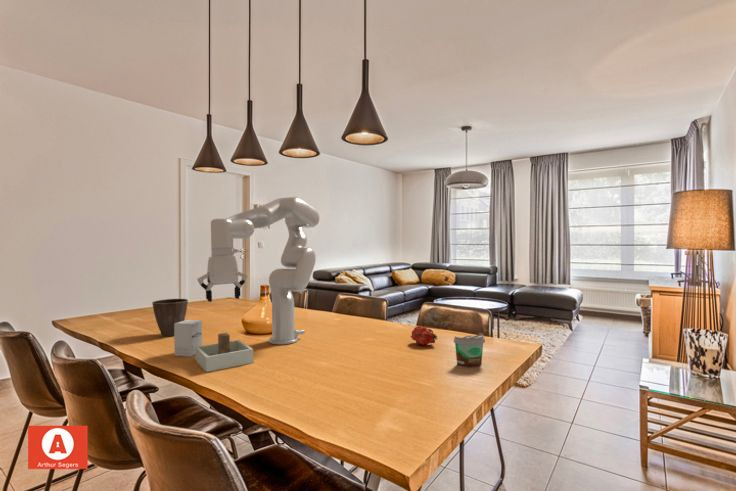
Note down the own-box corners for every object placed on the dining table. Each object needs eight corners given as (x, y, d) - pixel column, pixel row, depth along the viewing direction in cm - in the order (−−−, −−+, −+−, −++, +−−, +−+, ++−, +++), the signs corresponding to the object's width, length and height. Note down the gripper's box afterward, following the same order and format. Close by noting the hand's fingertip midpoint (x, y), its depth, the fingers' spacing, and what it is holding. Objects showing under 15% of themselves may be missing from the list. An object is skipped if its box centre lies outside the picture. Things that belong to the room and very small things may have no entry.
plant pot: (149, 334, 181) (148, 300, 181) (182, 329, 191) (182, 297, 191) (157, 340, 170) (157, 304, 170) (193, 334, 180) (192, 300, 180)
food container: (465, 370, 128) (465, 340, 128) (453, 365, 133) (453, 336, 133) (493, 364, 134) (492, 336, 134) (480, 359, 139) (480, 332, 139)
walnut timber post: (227, 357, 142) (226, 332, 142) (229, 359, 138) (229, 334, 138) (218, 358, 140) (218, 334, 140) (221, 361, 137) (220, 336, 137)
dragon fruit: (411, 345, 165) (435, 354, 157) (403, 337, 159) (428, 346, 151) (419, 327, 168) (443, 335, 160) (412, 319, 162) (436, 327, 154)
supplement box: (191, 356, 146) (190, 323, 146) (173, 355, 147) (173, 323, 147) (203, 351, 153) (202, 319, 153) (186, 350, 154) (186, 319, 154)
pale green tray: (238, 352, 151) (238, 339, 151) (253, 362, 138) (253, 349, 138) (195, 360, 141) (195, 346, 141) (206, 372, 128) (206, 357, 128)
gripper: (242, 251, 147) (243, 296, 148) (194, 253, 137) (195, 301, 137) (249, 252, 141) (250, 298, 142) (199, 254, 131) (200, 304, 131)
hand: (223, 299), depth 139 cm, fingers open, 9 cm apart
